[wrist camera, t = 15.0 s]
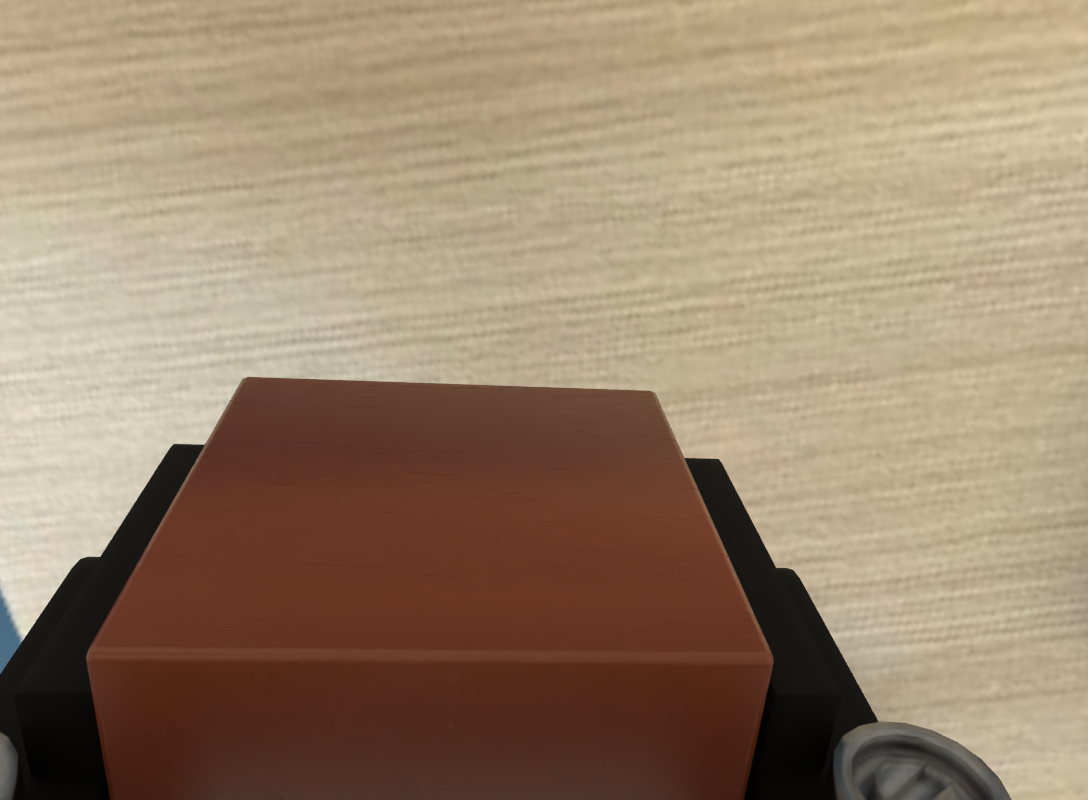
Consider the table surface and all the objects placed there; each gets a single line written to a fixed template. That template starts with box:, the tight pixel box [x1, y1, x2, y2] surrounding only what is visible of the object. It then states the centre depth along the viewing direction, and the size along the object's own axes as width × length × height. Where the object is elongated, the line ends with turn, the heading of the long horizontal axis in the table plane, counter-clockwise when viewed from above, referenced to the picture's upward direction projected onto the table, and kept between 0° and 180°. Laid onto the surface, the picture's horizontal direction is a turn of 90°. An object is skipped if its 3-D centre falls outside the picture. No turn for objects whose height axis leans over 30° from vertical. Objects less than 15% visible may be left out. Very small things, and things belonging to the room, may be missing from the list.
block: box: [86, 377, 774, 800], centre depth 9 cm, size 4×4×4 cm
